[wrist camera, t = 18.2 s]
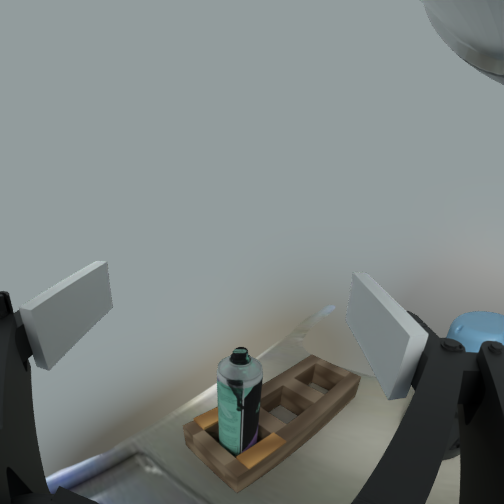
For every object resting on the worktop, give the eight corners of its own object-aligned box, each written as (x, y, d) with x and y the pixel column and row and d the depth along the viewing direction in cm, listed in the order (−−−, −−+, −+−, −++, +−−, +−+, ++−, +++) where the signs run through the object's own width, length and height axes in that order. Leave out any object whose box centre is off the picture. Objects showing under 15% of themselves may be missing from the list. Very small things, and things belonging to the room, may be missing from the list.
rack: (355, 395, 50) (361, 374, 48) (237, 493, 29) (237, 475, 27) (308, 373, 58) (312, 352, 57) (186, 444, 37) (182, 423, 36)
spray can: (259, 461, 35) (271, 360, 30) (223, 467, 33) (220, 365, 29) (250, 437, 40) (257, 336, 35) (217, 441, 38) (213, 340, 34)
